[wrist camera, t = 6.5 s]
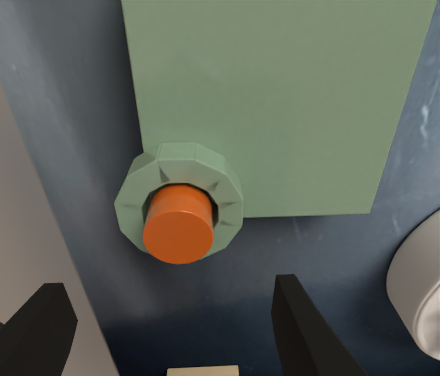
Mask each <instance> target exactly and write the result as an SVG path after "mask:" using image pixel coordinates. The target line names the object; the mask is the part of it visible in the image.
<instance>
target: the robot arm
mask: <svg viewBox="0 0 440 376" xmlns="http://www.w3.org/2000/svg"><path fill="white" fill-rule="evenodd" d="M271 315H272V322H273V329H274V335H275V341H276V346H277V350H278V354H279V358H280V361H281V365H282V369H283V373H284V376H369V374H368V373H367V372H366V371H365V370H364V369H363V367H362V366H361V365H360V364H359V363H358V362H357V360H356V359H355V358H354V357H353V355H352V354H351V353H350V352H349V351H348V349H347V348H346V347H345V346H344V344H343V343H342V342H341V340H340V339H339V338H338V337H337V335H336V334H335V333H334V331H333V330H332V328H331V327H330V326H329V324H328V323H327V322H326V320H325V319H324V318H323V316H322V315H321V313H320V312H319V311H318V309H317V308H316V306H315V305H314V303H313V302H312V300H311V299H310V297H309V296H308V294H307V293H306V291H305V290H304V288H303V286H302V285H301V283H300V281H299V280H298V278H297V277H296V276H295V275H294V274H287V275H276V281H275V288H274V295H273V302H272V310H271ZM77 322H78V320H77V317H76V315H75V312H74V310H73V307H72V305H71V302H70V300H69V297H68V295H67V292H66V290H65V287H64V285H63V283H44V284H43V285H42V286H41V287H40V288H39V290H37V291H36V292H35V293H34V294H33V296H31V298H30V299H29V300H28V301H27V302H26V303H25V304H24V305H23V306H22V307H21V308H20V309H19V310H18V311H17V312H16V313H15V314H14V315H13V316H12V317H11V318H10V320H9V321H7V322H6V324H5V325H4V326H3V327H2V328H1V329H0V376H61V374H62V372H63V369H64V366H65V364H66V361H67V358H68V356H69V353H70V350H71V346H72V342H73V339H74V335H75V331H76V326H77Z"/></svg>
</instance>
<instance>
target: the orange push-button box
mask: <svg viewBox="0 0 440 376" xmlns="http://www.w3.org/2000/svg"><path fill="white" fill-rule="evenodd" d="M436 3H437V0H121V5H122V11H123V18H124V25H125V31H126V38H127V45H128V52H129V58H130V65H131V72H132V78H133V85H134V92H135V99H136V105H137V112H138V119H139V125H140V132H141V139H142V146H143V152H144V153H143V154H141V155H139V156H138V157H136V158H135V159H134V160H133V161H132V164H131V166H130V168H129V170H128V172H127V174H126V176H125V178H124V180H123V183H122V185H121V187H120V190H119V192H118V195H117V197H116V199H115V203H114V205H115V210H116V214H117V219H118V223H119V227H120V230H121V232H122V233H123V234H124V235H125V236H126V237H127V238H128V239H129V240H130V241H131V242H132V243H133V244H134V245H135V246H136V247H137V248H138V249H139V250H142V251H143V252H146V253H149V251H148V250H147V249H146V247H145V245H144V243H143V238H142V234H143V229H144V225H145V221H146V217H147V213H148V209H149V205H150V203H149V197H148V195H149V193H150V199H152V198H153V196H154V195H155V194H156V193H157V192H158V191H159V190H161V189H162V188H165V187H167V186H170V185H175V184H184V185H190V186H193V187H195V188H197V189H199V190H201V191H202V192H203V193H204V194H205V195H206V196H207V197H208V198H209V200H210V202H211V205H212V212H213V235H214V239H213V244H212V247H211V248H210V250H209V251H208V253H207V254H206V255H205V256H203V257H202V258H200V259H203V258H205V257H207V256H209V255H211V254H214V253H216V252H218V251H220V250H222V249H224V248H226V247H227V245H228V244H229V243H230V242H231V240H232V239H233V238H234V236H235V235H236V234H237V232H238V231H239V230H240V228H241V227H242V224H243V218H253V217H285V216H317V215H350V214H369V213H370V210H371V207H372V204H373V201H374V198H375V194H376V191H377V188H378V185H379V182H380V179H381V176H382V172H383V169H384V166H385V163H386V160H387V157H388V154H389V151H390V147H391V144H392V141H393V138H394V135H395V132H396V129H397V125H398V122H399V119H400V116H401V113H402V110H403V107H404V103H405V100H406V97H407V94H408V91H409V88H410V85H411V81H412V78H413V75H414V72H415V69H416V66H417V63H418V59H419V56H420V53H421V50H422V47H423V44H424V41H425V37H426V34H427V31H428V28H429V25H430V22H431V19H432V16H433V12H434V9H435V6H436ZM149 254H150V253H149ZM198 260H199V259H198Z"/></svg>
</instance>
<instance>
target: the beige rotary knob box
mask: <svg viewBox="0 0 440 376" xmlns="http://www.w3.org/2000/svg"><path fill="white" fill-rule="evenodd" d="M167 376H239V372H238V365H232V366H211V367H191V368H170V369H168V370H167Z"/></svg>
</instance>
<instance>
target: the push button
mask: <svg viewBox="0 0 440 376" xmlns="http://www.w3.org/2000/svg"><path fill="white" fill-rule="evenodd" d="M142 238H143V243H144V245H145V247H146V249H147V250H148V251H149V253H150V254H152V255H153V256H154V257H156V258H157V259H159V260H161V261H164V262H167V263H172V264H186V263H191V262H194V261H196V260H198V259H200V258H202V257H203V256H205V255H206V254H207V253H208V251H209V250H210V248H211V247H212V244H213V239H214V235H213V212H212V205H211V202H210V200H209V198H208V197H207V196H206V195H205V194H204V193H203V192H202V191H201V190H199V189H197V188H195V187H193V186H190V185H184V184H175V185H170V186H167V187H165V188H162V189H161V190H159V191H158V192H157V193H156V194H155V195H154V196H153V198H152V199H151V202H150V205H149V209H148V213H147V217H146V221H145V225H144V229H143V234H142Z"/></svg>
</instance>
